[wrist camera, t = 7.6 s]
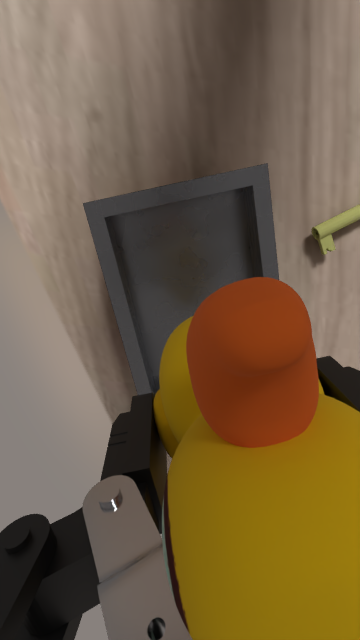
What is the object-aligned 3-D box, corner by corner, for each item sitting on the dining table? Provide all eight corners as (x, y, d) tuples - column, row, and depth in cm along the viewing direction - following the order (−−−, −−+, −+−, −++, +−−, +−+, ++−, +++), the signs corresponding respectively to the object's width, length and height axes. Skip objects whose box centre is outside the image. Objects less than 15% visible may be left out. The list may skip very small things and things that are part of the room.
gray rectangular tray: (233, 176, 27) (267, 163, 19) (256, 346, 33) (290, 395, 24) (106, 204, 28) (82, 203, 19) (150, 368, 33) (146, 425, 24)
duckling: (110, 253, 11) (-141, 495, 2) (260, 207, 11) (844, 216, 2) (195, 490, 15) (256, 963, 6) (308, 459, 15) (566, 897, 5)
